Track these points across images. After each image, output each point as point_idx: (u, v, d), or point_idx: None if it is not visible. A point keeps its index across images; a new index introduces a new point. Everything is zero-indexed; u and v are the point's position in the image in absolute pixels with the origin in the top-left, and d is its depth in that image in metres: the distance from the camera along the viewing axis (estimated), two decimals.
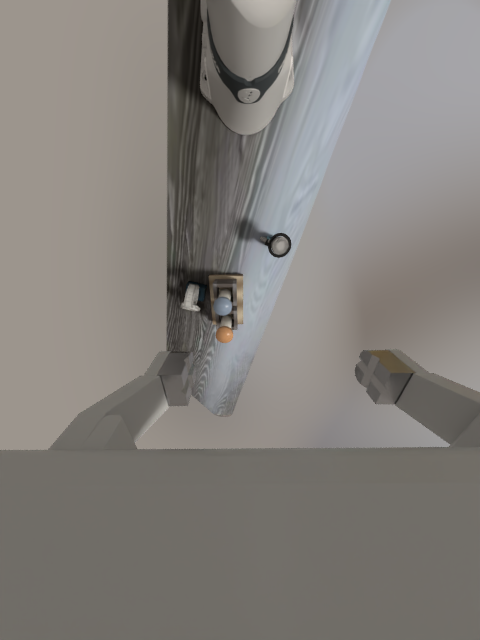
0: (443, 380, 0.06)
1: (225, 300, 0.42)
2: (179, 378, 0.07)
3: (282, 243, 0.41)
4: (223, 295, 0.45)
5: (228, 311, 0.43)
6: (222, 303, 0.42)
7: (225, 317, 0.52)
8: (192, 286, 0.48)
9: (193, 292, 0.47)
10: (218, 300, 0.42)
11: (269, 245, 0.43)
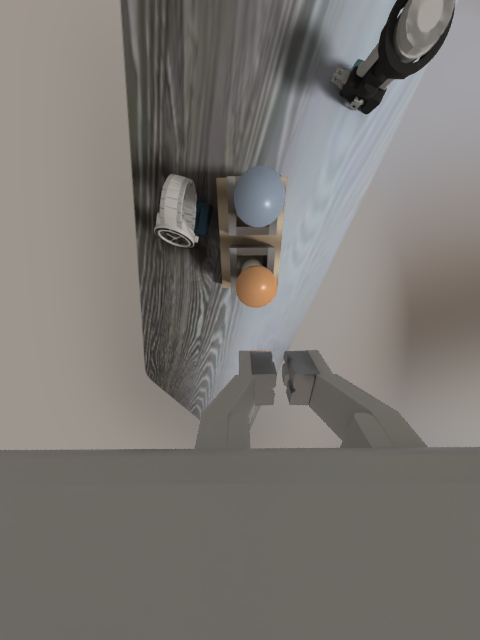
0: (340, 381, 0.06)
1: (269, 173, 0.15)
2: (273, 377, 0.07)
3: (438, 1, 0.14)
4: None
5: (274, 213, 0.16)
6: (260, 184, 0.15)
7: (251, 261, 0.25)
8: (180, 176, 0.21)
9: (182, 185, 0.20)
10: (249, 173, 0.15)
11: (390, 24, 0.15)
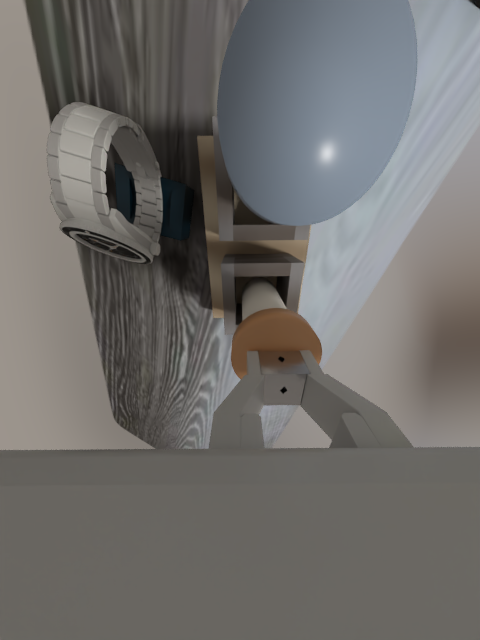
0: (331, 381, 0.06)
1: None
2: (282, 377, 0.07)
3: None
4: None
5: (357, 178, 0.05)
6: (322, 53, 0.04)
7: (260, 284, 0.15)
8: (105, 110, 0.09)
9: (101, 125, 0.08)
10: None
11: None
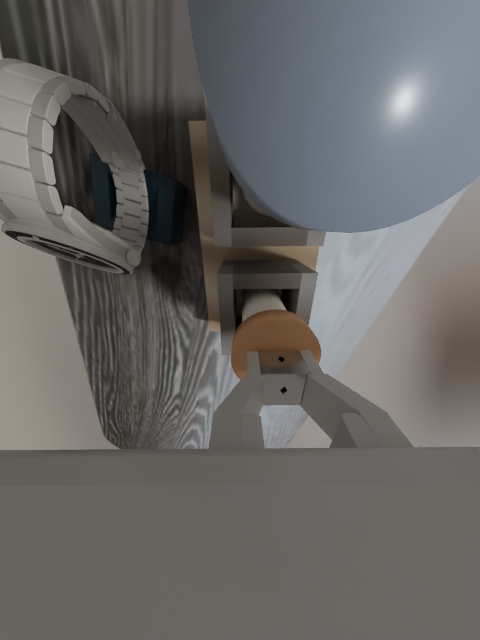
0: (331, 381, 0.06)
1: None
2: (282, 377, 0.07)
3: None
4: None
5: (478, 138, 0.02)
6: None
7: None
8: None
9: (44, 88, 0.06)
10: None
11: None
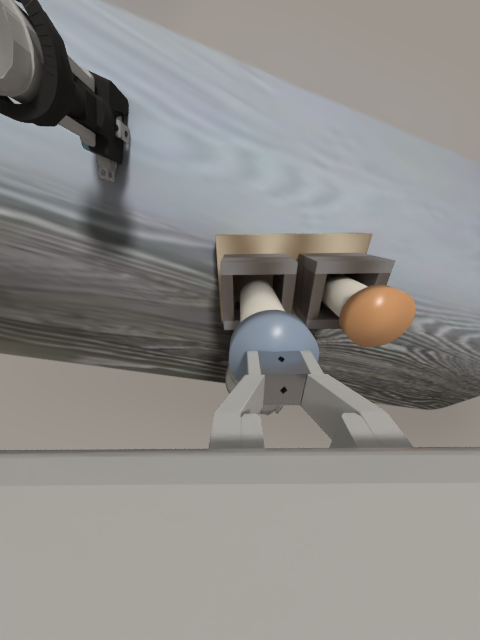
0: (331, 381, 0.06)
1: (239, 348, 0.09)
2: (282, 377, 0.07)
3: None
4: None
5: (300, 337, 0.08)
6: None
7: None
8: (227, 378, 0.19)
9: None
10: (239, 373, 0.09)
11: (21, 113, 0.09)
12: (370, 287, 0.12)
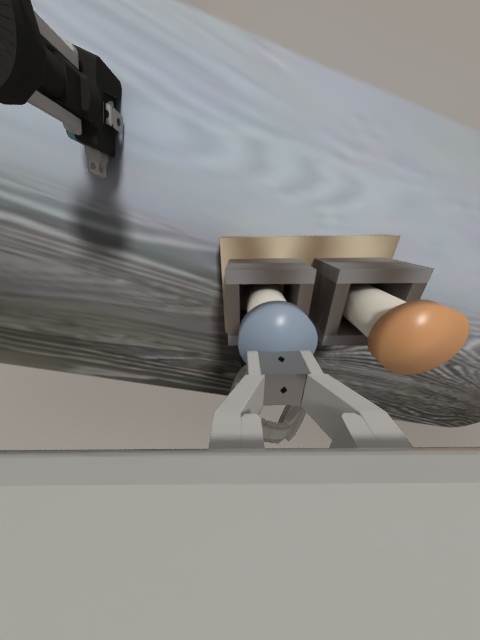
0: (331, 381, 0.06)
1: (247, 333, 0.10)
2: (282, 377, 0.07)
3: None
4: None
5: (301, 323, 0.10)
6: (260, 344, 0.10)
7: None
8: None
9: None
10: (246, 356, 0.11)
11: None
12: (410, 303, 0.10)
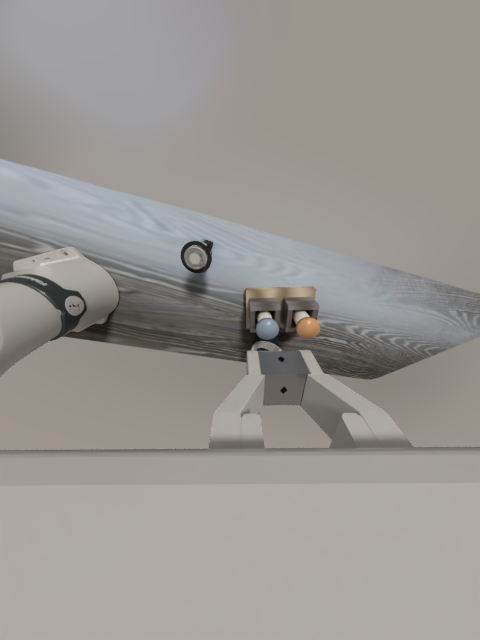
0: (331, 381, 0.06)
1: (259, 327, 0.35)
2: (282, 377, 0.07)
3: (191, 256, 0.31)
4: (258, 321, 0.39)
5: (273, 324, 0.35)
6: (262, 330, 0.36)
7: None
8: None
9: None
10: (258, 334, 0.36)
11: (197, 271, 0.33)
12: (304, 317, 0.35)
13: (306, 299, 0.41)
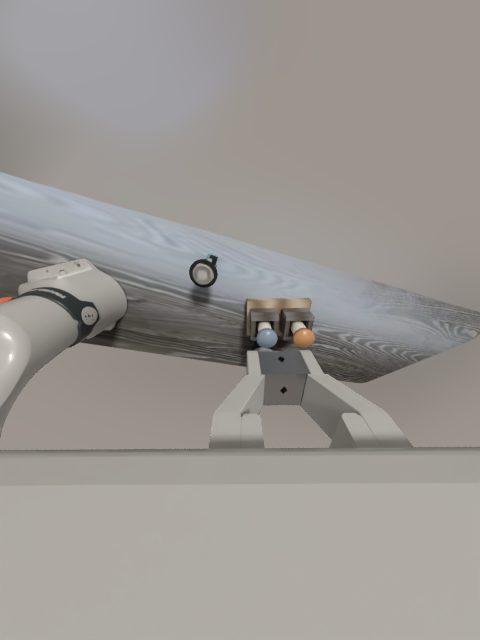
0: (331, 381, 0.06)
1: (259, 336, 0.39)
2: (282, 377, 0.07)
3: (199, 273, 0.34)
4: (258, 330, 0.42)
5: (272, 334, 0.38)
6: (262, 339, 0.39)
7: None
8: None
9: None
10: (259, 343, 0.39)
11: (204, 286, 0.36)
12: (301, 328, 0.39)
13: (302, 310, 0.44)
